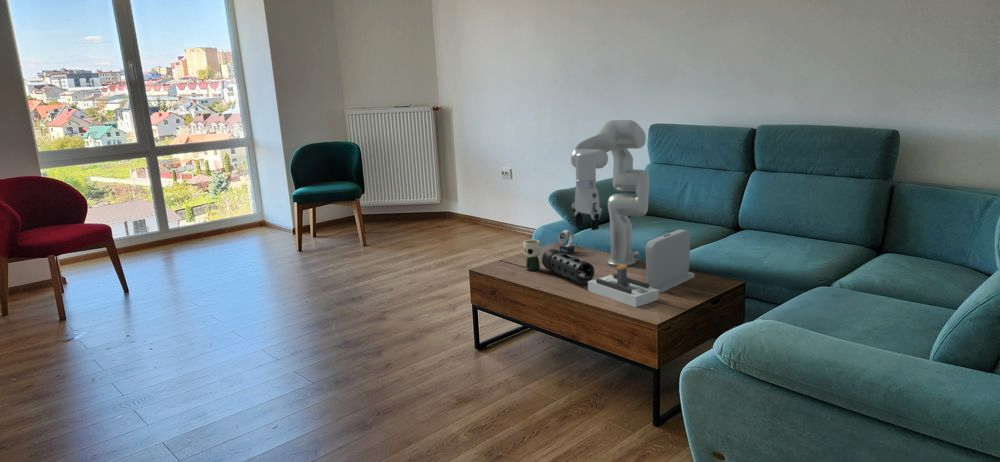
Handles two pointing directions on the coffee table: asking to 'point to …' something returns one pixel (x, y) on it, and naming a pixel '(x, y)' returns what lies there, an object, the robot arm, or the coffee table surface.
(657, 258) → the wireless router
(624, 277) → the toggle
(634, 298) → the breaker panel
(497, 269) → the coffee table surface
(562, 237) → the watch
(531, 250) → the character mug
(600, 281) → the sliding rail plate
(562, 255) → the muzzle brake
